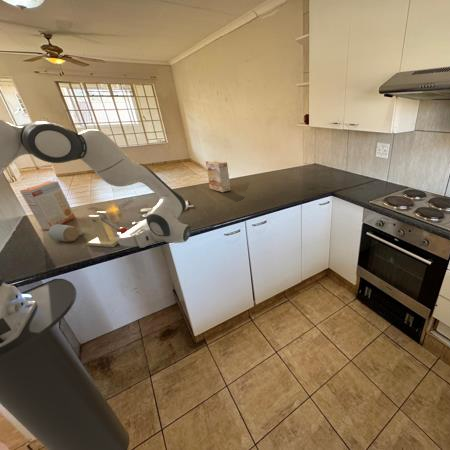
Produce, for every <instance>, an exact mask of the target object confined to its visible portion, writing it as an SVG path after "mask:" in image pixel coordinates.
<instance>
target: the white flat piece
mask: <svg viewBox="0 0 450 450" xmlns="http://www.w3.org/2000/svg"><path fill="white" fill-rule="evenodd" d="M185 203H186V209H185V210H184V211H186V210H188V208H195V206H194V205H193V204H192V205H190V204H189V200H185ZM155 206H156V205H154V206H153V207H152V208H151V207H148V208H147V207H146V208H141V209H140V213H144V214H142V215H141V216H142V218H145V219H146V217H147V216H148V214H149V213H150V211H151V210H152V209H153V208H154V207H155ZM146 212H147V213H146Z"/></svg>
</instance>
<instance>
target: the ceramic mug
mask: <svg viewBox="0 0 450 450" xmlns="http://www.w3.org/2000/svg"><path fill="white" fill-rule="evenodd" d="M47 231H48V232H47V234H48V237H49V239H51V240H52V241H54V242H66V243H70V242H71V243H72V242H74V241H76V240H77V239H78V238H79V236H81V235H84V231H83V230H79V229H78V228H77V227H76V226H72V225H67V224H56V225H53V226H52V227H51V228H50V229H48V230H47Z"/></svg>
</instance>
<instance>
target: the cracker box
mask: <svg viewBox="0 0 450 450" xmlns="http://www.w3.org/2000/svg"><path fill="white" fill-rule="evenodd" d="M19 192H20V195H21V196H22V197H23V199H24V201H25V203H26V204H27V206H28V208H29V210H30V211H31V213H32V215H33V216H34V218H35V220H36V222H37V223H38V225H39V226H40V228H41V230H49V229H50V228H51V227H52V226H53V225H56V224H62V225H65V224H66V223H68V222H71V221H72V220H74V219H76V215H75V214H74V212H73V210H72V207H71V206H70V205H71V204H70V203H69V201H68V200H67V197H66V196H65V193H64V191H63V190H62V187H61V185H60V183H59V182H58V181H56V180H55V181H49V180H48V181H44V182H42V183H38V184H35V185H33V186H29V187H27V188H24V189H23V188H22V189H20V190H19Z"/></svg>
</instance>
